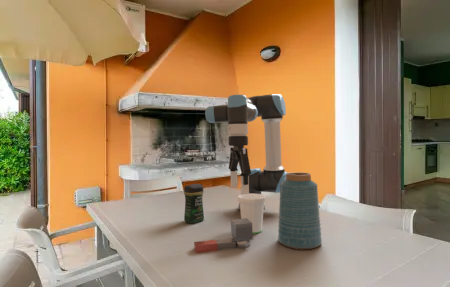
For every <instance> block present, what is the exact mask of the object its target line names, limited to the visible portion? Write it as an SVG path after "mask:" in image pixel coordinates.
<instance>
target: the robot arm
mask: <svg viewBox="0 0 450 287" xmlns="http://www.w3.org/2000/svg"><path fill="white" fill-rule="evenodd" d="M284 99H285V98H284V97H283V95H282V94H280V93H278V94H277V93H273V94H264V95H263V94H262V95H254V96H253V95H252V96H249V97H247V95H245V94H231V95H229V96H228V97H227V103H225V104H220V105H212V106H211V105H210V106H207V108H206V109H205V112H204V114H205V115H204V116H205V119H206V121H207V122H208V123H210V124H219V123H228V124H227V125H228V126H227V127H226V129H227V130H228V133H227V134H228V135H229V136H228V146H229V147H230V155H229V163H228V169H229V171H230V188H238V183H239V182H238V171H239V170H238V166H239V169H240V174H239V176H240V193H241V194H262V192H265V193H276V194H277V193H278V194H280V184H281V183H282V182H283V181H285V180H286V174H287V173H288V171H286V170H285V167H284V166H283V165H282V143H281V139H282V138H281V137H282V136H281V121H282V120H283V119H284V118H283V117H284V116H286V112H287V109H286V103H285V100H284ZM259 117H260V118H261V121H262V122H263V124H264V125H263V126H264V150H265V166H264V167H263V169H261V168H251V165H250V160H249V155H248V153H249V152H248V148H247V147H246V148H245V146H248V145H249V136H248V135H249V124H248V123H251V122H254V121H255V120H256V119H257V118H259ZM241 194H240V195H241ZM264 210H265V204H264ZM238 211H240V203H239V202H238Z"/></svg>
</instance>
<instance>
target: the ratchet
mask: <svg viewBox="0 0 450 287" xmlns="http://www.w3.org/2000/svg"><path fill="white" fill-rule="evenodd" d="M193 243H194V244H193V246H194V247H193V249H194V252H195V253H196V254H199V253H207V252H215V251H217V252H218V251H222V250H229V249H236V248H237V249H247V248H249V247H250V246H251V240H244V241H235V239H234V238H233V237H231V238H223V239H210V240H209V239H207V240H200V241H194V242H193Z"/></svg>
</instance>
